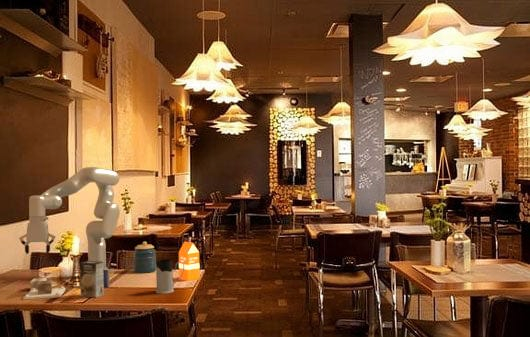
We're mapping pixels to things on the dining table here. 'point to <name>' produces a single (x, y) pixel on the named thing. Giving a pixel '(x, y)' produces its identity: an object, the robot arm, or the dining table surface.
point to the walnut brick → (44, 287)
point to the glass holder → (165, 276)
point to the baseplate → (34, 294)
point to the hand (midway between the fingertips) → (37, 253)
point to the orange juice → (189, 262)
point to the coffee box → (92, 279)
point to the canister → (144, 258)
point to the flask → (106, 277)
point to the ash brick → (35, 283)
